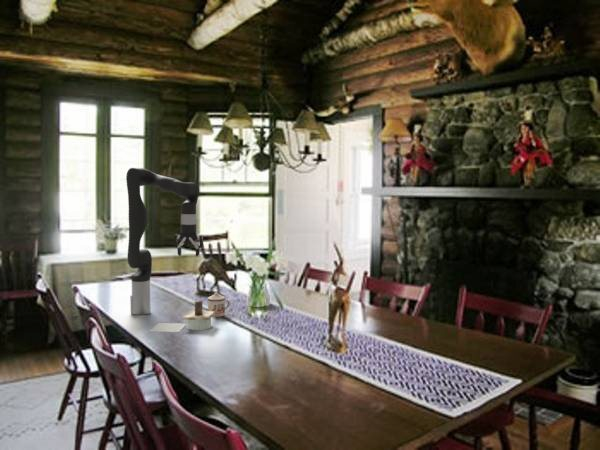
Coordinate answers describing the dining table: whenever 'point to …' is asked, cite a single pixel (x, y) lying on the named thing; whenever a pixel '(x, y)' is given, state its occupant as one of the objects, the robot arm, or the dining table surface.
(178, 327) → the mat
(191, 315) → the cover
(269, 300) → the glass flower vase
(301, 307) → the dining table surface
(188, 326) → the bowl
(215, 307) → the teacup with lid
